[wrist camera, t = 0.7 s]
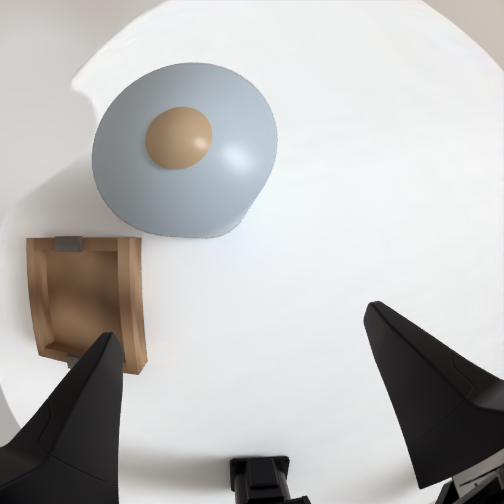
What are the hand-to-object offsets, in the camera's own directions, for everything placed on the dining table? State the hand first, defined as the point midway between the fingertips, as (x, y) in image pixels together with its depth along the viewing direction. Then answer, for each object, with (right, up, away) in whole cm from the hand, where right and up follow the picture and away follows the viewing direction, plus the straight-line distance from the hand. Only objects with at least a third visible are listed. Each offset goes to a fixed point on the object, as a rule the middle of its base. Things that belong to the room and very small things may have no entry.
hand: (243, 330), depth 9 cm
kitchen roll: (-3, +7, +13) cm, 15 cm away
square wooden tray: (-14, -2, +12) cm, 19 cm away
